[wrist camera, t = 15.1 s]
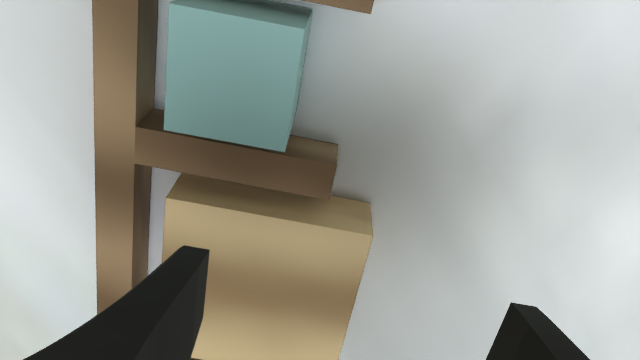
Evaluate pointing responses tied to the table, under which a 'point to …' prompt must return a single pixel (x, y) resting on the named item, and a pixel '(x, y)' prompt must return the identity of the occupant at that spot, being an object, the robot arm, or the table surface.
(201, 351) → the oak slab
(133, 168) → the walnut frame
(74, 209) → the table surface
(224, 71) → the teal block
